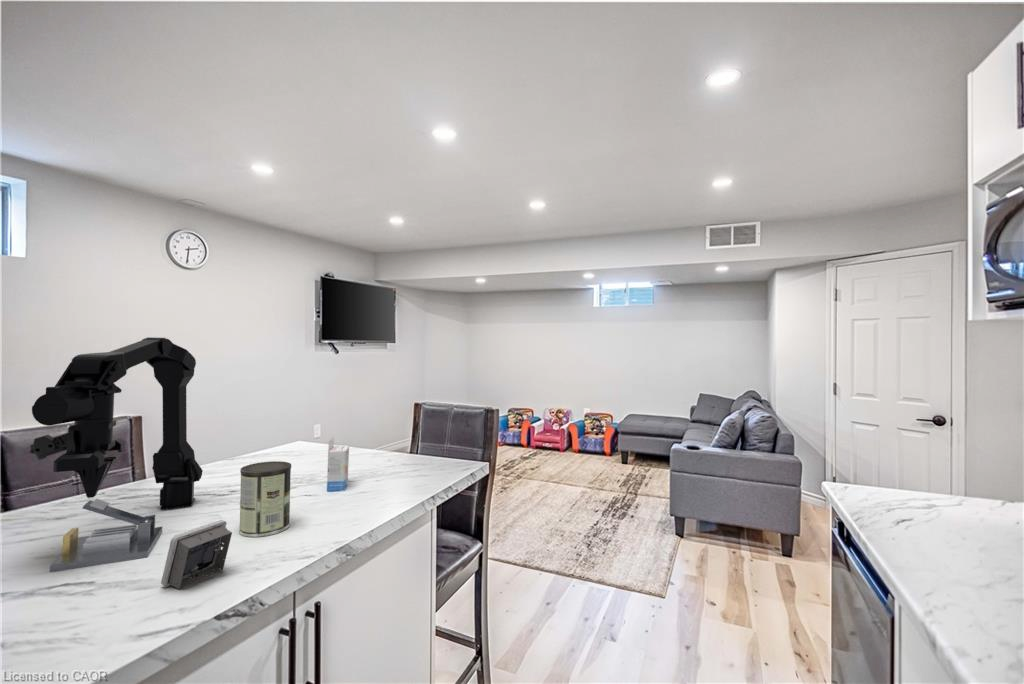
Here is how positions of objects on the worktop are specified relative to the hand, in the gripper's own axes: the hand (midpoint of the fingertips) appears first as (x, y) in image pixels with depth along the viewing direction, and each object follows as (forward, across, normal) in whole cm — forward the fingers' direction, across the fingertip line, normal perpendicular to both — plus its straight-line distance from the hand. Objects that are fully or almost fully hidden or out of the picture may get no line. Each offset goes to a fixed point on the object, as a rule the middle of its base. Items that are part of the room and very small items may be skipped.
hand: (91, 497), depth 91 cm
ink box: (+11, -27, +50) cm, 57 cm away
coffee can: (+11, 0, +30) cm, 32 cm away
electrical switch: (+11, +21, +20) cm, 31 cm away
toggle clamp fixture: (+11, 0, +4) cm, 12 cm away
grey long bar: (+5, 0, +4) cm, 6 cm away
